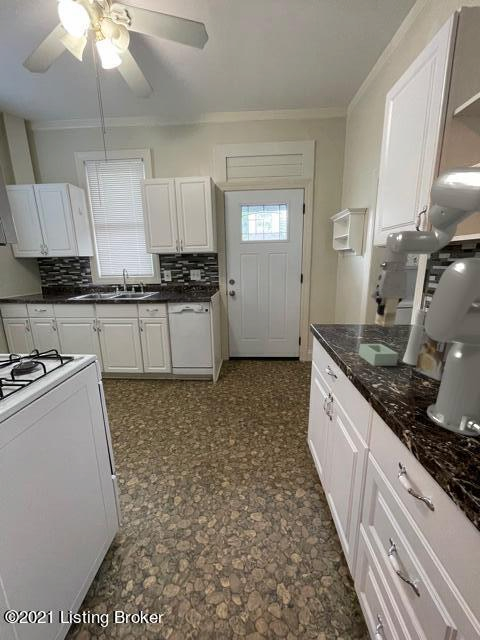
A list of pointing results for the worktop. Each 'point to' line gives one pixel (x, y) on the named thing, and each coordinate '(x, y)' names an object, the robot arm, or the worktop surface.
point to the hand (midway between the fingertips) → (385, 314)
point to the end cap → (378, 354)
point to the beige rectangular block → (388, 312)
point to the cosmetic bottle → (415, 339)
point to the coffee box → (432, 357)
